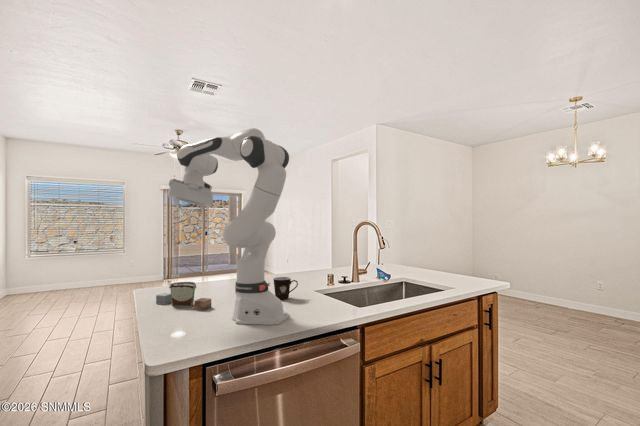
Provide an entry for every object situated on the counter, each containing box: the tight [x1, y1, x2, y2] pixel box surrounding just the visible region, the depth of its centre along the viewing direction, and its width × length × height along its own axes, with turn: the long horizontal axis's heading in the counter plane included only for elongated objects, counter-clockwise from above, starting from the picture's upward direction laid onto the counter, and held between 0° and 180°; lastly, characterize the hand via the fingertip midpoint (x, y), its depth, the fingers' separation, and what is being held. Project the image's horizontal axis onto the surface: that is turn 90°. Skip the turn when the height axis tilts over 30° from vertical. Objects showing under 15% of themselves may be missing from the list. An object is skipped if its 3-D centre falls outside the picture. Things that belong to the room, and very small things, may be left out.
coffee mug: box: [273, 276, 299, 301], centre depth 151 cm, size 12×9×10 cm
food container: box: [169, 281, 197, 308], centre depth 141 cm, size 12×6×10 cm, turn 84°
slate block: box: [155, 292, 172, 305], centre depth 145 cm, size 5×5×4 cm
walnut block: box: [193, 297, 212, 311], centre depth 135 cm, size 5×5×4 cm
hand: (189, 210), depth 142 cm, fingers open, 8 cm apart
